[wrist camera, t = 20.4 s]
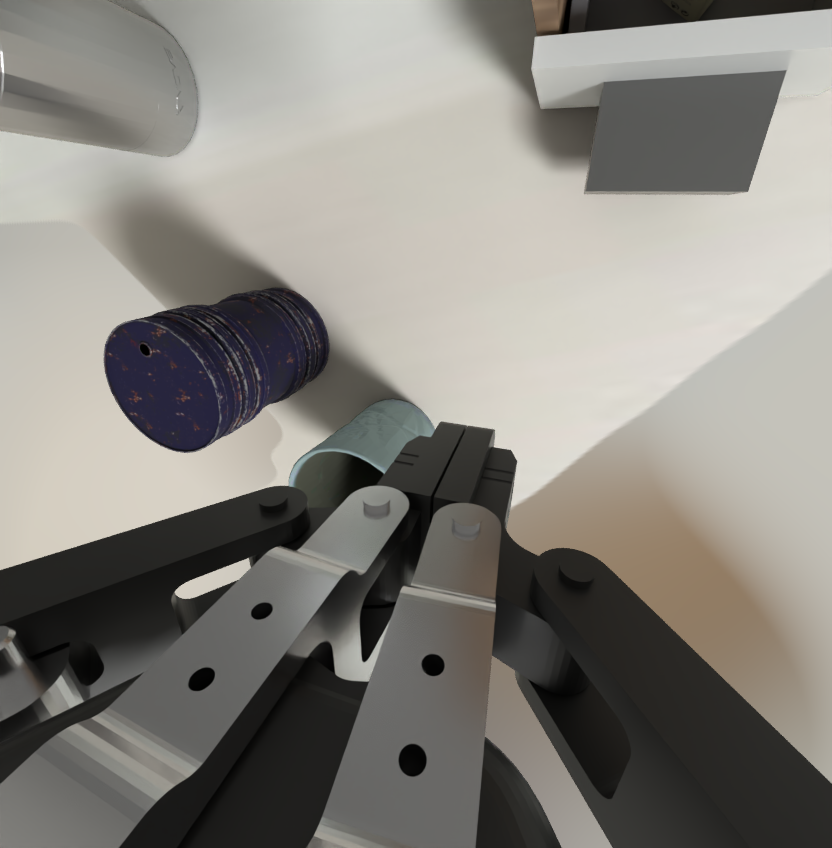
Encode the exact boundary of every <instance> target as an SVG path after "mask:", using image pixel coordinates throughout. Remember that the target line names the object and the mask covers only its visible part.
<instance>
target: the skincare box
mask: <svg viewBox="0 0 832 848" xmlns="http://www.w3.org/2000/svg"><path fill="white" fill-rule="evenodd" d="M662 1H663V2H664V3H665V4H666V5H668V6H669V7H670V8H671V9H672V10H674V11H675V12H676V13H678V14H679V15H680V16H682V17H683V18H684V19H686V20H687V21H688V22H697V21H698V19H699V18H700V17H701V16H702V14H703V13H704V12H705V11H706V10H707V8H708V7H709V6H710V5H711V3H712V2H713V1H714V0H662Z"/></svg>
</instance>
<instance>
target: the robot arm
mask: <svg viewBox="0 0 832 848" xmlns="http://www.w3.org/2000/svg"><path fill="white" fill-rule="evenodd" d="M197 114H198V99H197V89H196V85H195V80H194V76H193V73H192V70H191V68H190V65H189V62H188V60H187V58H186V56H185V54H184V53H183V51H182V49H181V47H180V46H179V44H178V43H177V42H176V41H175V39H174V38H173V37H172V36H171V35H170V34H169V33H168V32H167V31H166V30H165V29H163V28H162V27H161V26H159V25H157V24H155V23H153V22H151V21H149V20H147V19H145V18H143V17H141V16H139V15H137V14H135V13H133V12H131V11H129V10H127V9H124V8H122V7H120V6H118V5H116V4H114V3H112V2H111V1H108V0H0V131H4V132H11V133H17V134H23V135H29V136H36V137H42V138H48V139H55V140H61V141H67V142H73V143H80V144H86V145H92V146H99V147H105V148H111V149H117V150H122V151H129V152H135V153H141V154H148V155H154V156H161V157H162V156H172V155H175V154H177V153H179V152H180V151H181V150H183V149H184V148H185V147H186V145H187V144H188V143H189V141H190V140H191V137H192V135H193V133H194V130H195V126H196V121H197ZM494 439H495V430H493V429H487V428H480V427H474V426H468V427H467V425H460V424H454V423H447V422H440V423H439V425H438V426H437V428H436V430H435V431H434V433H433V434H432V436H431V437H427V436H421V435H420V436H418V437H416V438H414V439H412V440H411V441H409V442H407V443H406V444H405V446H404V447H403V449H402V450H401V451H400V454H398V456H397V457H396V458H395V460H394V462H393V463H392V464H391V465H390V467H389V468H388V470H387V471H386V472H385V474H384V475H383V476H382V478H381V479H380V481H379V482H378V483H377V485H376V486H369V487H365V488H362V489H359V490H357V491H355V492H353V493H352V494H351V495H350V496H348V497H347V499H346V500H345V501H344V502H343V503H342V504H341V505H340V506H339V507H324V508H309V507H308V499H307V496H306V494H305V493H304V492H303V491H301V490H300V489H297V488H295V487H290V486H274V487H269V488H265V489H262V490H258V491H255V492H252V493H249V494H246V495H242V496H239V497H236V498H233V499H229V500H226V501H223V502H220V503H216V504H214V505H210V506H207V507H203V508H200V509H197V510H194V511H191V512H188V513H184V514H181V515H178V516H174V517H171V518H168V519H165V520H162V521H158V522H155V523H152V524H149V525H145V526H142V527H139V528H136V529H132V530H129V531H126V532H123V533H119V534H116V535H113V536H110V537H107V538H103V539H100V540H97V541H94V542H90V543H87V544H84V545H81V546H77V547H74V548H71V549H68V550H65V551H61V552H58V553H55V554H51V555H48V556H45V557H42V558H39V559H35V560H32V561H29V562H26V563H22V564H19V565H16V566H13V567H9V568H6V569H3V570H0V848H561V845H560V843H559V841H558V839H557V837H556V835H555V833H554V831H553V828H552V826H551V824H550V822H549V820H548V818H547V816H546V814H545V812H544V810H543V808H542V806H541V804H540V802H539V801H538V799H537V798H536V796H535V794H534V793H533V791H532V789H531V787H530V786H529V784H528V782H527V781H526V780H525V778H524V777H523V776H522V774H521V773H520V772H519V770H518V769H517V768H516V766H515V765H514V764H513V763H512V762H511V761H510V760H509V759H508V757H507V756H506V755H505V754H504V753H502V751H501V750H500V749H499V748H498V747H497V746H495V745H494V744H493V743H492V742H491V741H490V740H489V739H487V738H486V737H485V729H486V718H487V706H488V705H487V704H488V694H489V682H490V671H491V659H492V656H494V657H496V658H497V659H499V660H500V661H502V662H503V663H505V664H506V665H508V666H509V667H511V668H512V669H514V670H515V676H516V680H517V683H518V685H519V687H520V689H521V691H522V693H523V694H524V696H525V698H526V700H527V701H528V703H529V705H530V707H531V708H532V710H533V712H534V713H535V715H536V717H537V718H538V720H539V722H540V724H541V725H542V727H543V729H544V731H545V732H546V734H547V736H548V737H549V739H550V741H551V743H552V744H553V746H554V748H555V749H556V751H557V752H558V755H559V756H560V758H561V760H562V761H563V763H564V765H565V767H566V768H567V770H568V772H569V773H570V775H571V777H572V779H573V780H574V782H575V784H576V785H577V787H578V789H579V790H580V792H581V794H582V796H583V797H584V799H585V801H586V802H587V804H588V806H589V808H590V809H591V811H592V813H593V815H594V816H595V818H596V820H597V821H598V823H599V825H600V827H601V828H602V830H603V832H604V833H605V835H606V837H607V839H608V840H609V842H610V844H611V845H612V847H613V848H832V784H831V783H830V782H829V781H828V780H827V779H826V778H825V777H824V776H823V775H822V774H821V773H820V772H819V771H818V770H817V769H816V768H815V767H814V766H813V765H812V764H811V763H810V762H808V760H807V759H806V758H805V757H804V756H803V755H802V754H801V753H799V752H798V751H797V750H796V749H795V748H794V747H793V746H792V745H791V744H790V743H789V742H788V741H787V740H786V739H785V738H784V737H783V736H782V735H781V734H780V733H779V732H778V731H777V730H775V728H774V727H772V725H771V724H769V723H768V722H767V721H766V720H765V719H764V718H763V717H762V716H761V715H760V714H759V713H758V712H757V711H756V710H755V709H754V708H753V707H752V706H751V705H750V704H749V703H748V702H747V701H746V700H745V699H744V698H743V697H742V696H741V695H740V694H738V693H737V692H736V691H735V690H734V689H733V688H732V687H731V686H730V685H729V684H728V683H727V682H726V681H725V680H724V679H723V678H722V677H721V676H720V675H719V674H718V673H717V672H716V671H715V670H714V669H713V668H712V667H711V666H709V664H708V663H707V662H705V661H704V660H703V659H702V658H701V657H700V656H699V655H698V654H697V653H696V652H695V651H694V650H693V649H692V648H691V647H690V646H689V645H688V644H687V643H686V642H685V641H684V640H683V639H681V637H680V636H679V635H677V634H676V632H674V631H673V630H672V629H671V628H670V627H669V626H668V625H667V624H666V623H665V622H664V621H663V620H662V619H661V618H660V617H659V616H658V615H657V614H656V613H655V612H654V611H653V610H652V609H651V608H650V607H649V606H647V604H645V603H644V602H643V601H642V600H641V599H640V598H639V597H638V596H637V595H636V594H635V593H634V592H633V591H632V590H631V589H630V588H629V587H628V586H627V585H626V584H625V583H624V582H623V581H622V580H621V579H620V578H618V576H617V575H616V574H615V573H613V572H612V571H611V570H610V569H609V568H608V567H607V566H606V565H605V564H604V563H603V562H601V561H600V560H598V559H597V558H595V557H593V556H592V555H590V554H587V553H585V552H582V551H578V550H575V549H570V548H556V549H551V550H548V551H545V552H544V553H542V554H541V555H540V556H537V555H535V554H533V553H531V552H529V551H527V550H525V549H524V548H522V547H521V546H519V545H518V544H517V543H516V542H514V541H513V539H512V538H511V537H510V536H509V534H508V533H507V531H506V528H507V522H508V517H509V512H510V507H511V500H512V493H513V486H514V479H515V472H516V465H517V460H516V459H515V457H514V455H513V453H512V451H511V450H506V449H500V448H494ZM247 558H249V560H250V565H251V569H250V570H248V571H247V572H246V573H245V574H244V575H243V576H242V577H241V578H240V579H239V580H237V581H235V582H232V583H230V584H227V585H225V586H222V587H220V588H217V589H215V590H213V591H210V592H208V593H205V594H203V595H200V596H198V597H195V598H191V599H182V598H179V597H178V596H176V595H175V593H174V592H175V590H176V589H177V588H178V587H179V586H181V585H182V584H184V583H185V582H187V581H190V580H192V579H195V578H197V577H200V576H203V575H205V574H207V573H210V572H213V571H216V570H218V569H221V568H223V567H226V566H229V565H231V564H234V563H236V562H239V561H242V560H244V559H247ZM372 670H373V671H372ZM371 672H372V674H371ZM370 675H371V677H370ZM369 677H370V680H369V682H368V679H369Z"/></svg>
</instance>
